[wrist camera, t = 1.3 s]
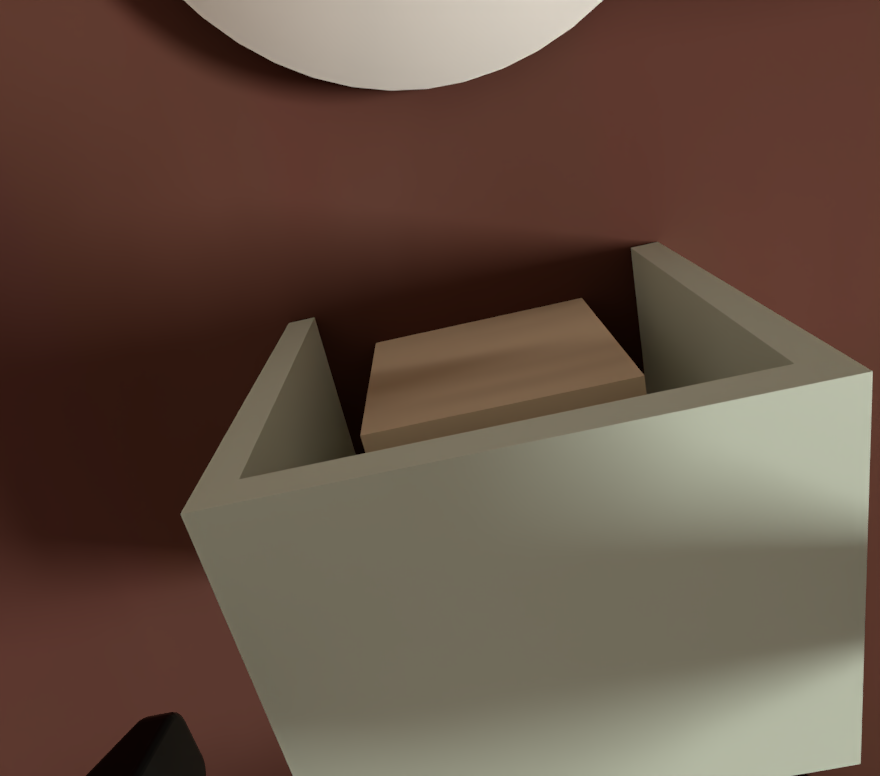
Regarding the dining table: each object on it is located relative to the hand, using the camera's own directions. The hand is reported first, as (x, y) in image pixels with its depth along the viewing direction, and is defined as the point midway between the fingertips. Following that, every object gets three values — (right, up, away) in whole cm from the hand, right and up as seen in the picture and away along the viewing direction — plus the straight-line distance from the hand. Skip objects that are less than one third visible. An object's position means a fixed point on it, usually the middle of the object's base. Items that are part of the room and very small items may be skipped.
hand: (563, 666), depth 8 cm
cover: (0, +3, +6) cm, 7 cm away
